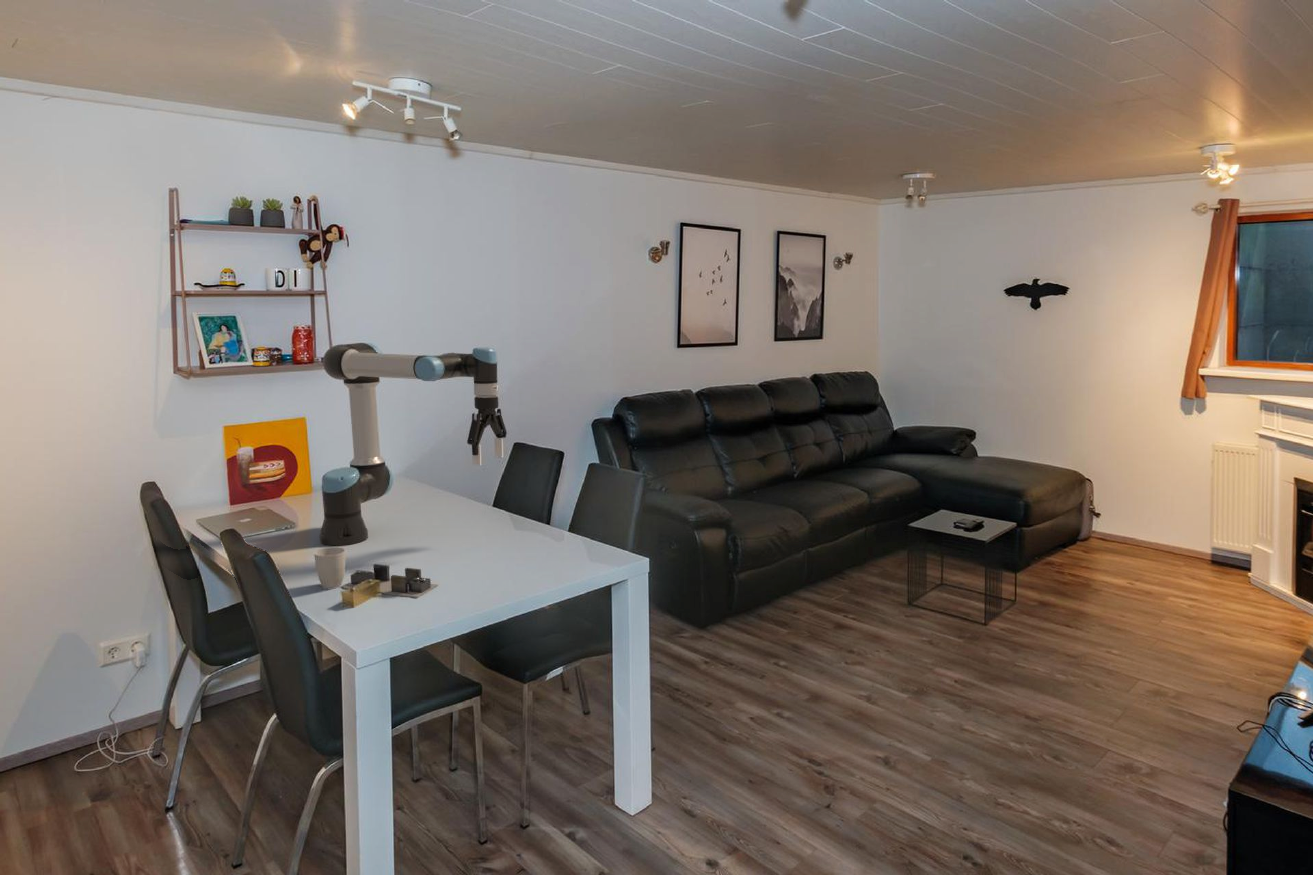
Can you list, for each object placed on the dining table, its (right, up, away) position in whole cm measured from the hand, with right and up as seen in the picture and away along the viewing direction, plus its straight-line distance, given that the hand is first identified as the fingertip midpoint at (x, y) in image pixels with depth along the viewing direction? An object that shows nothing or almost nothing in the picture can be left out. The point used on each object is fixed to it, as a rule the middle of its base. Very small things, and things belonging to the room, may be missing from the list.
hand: (488, 461), depth 269 cm
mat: (-20, -34, -37) cm, 54 cm away
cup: (-37, -34, -36) cm, 62 cm away
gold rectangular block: (-24, -36, -47) cm, 64 cm away
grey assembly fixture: (-20, -34, -37) cm, 54 cm away
